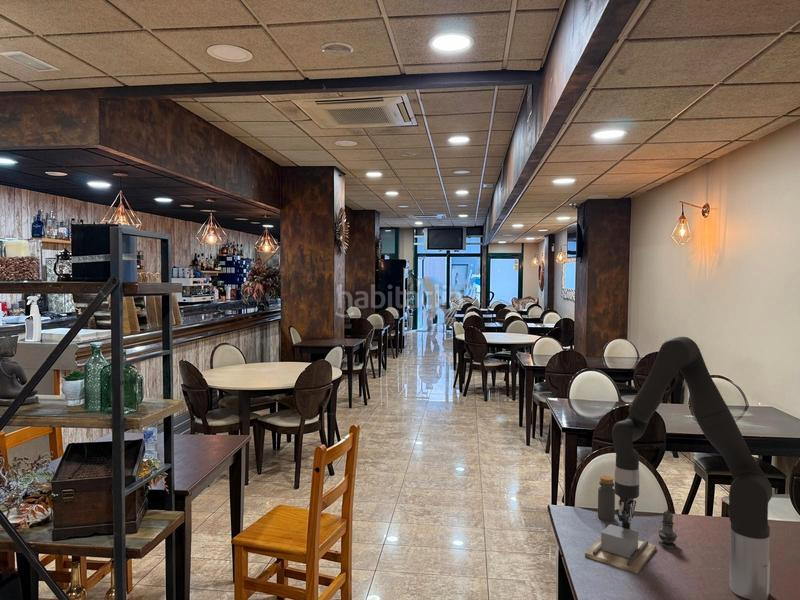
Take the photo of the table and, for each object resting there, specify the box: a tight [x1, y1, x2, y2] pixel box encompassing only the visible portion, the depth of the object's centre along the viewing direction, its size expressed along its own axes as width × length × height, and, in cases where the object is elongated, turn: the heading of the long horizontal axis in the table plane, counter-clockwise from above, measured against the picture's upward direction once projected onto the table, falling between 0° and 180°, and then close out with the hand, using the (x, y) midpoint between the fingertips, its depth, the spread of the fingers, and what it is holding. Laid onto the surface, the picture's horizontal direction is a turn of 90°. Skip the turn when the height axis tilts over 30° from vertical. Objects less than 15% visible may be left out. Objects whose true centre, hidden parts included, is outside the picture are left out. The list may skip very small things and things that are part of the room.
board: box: [584, 536, 657, 574], centre depth 177 cm, size 16×20×2 cm
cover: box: [600, 524, 639, 559], centre depth 176 cm, size 9×8×6 cm
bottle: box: [597, 475, 616, 522], centre depth 203 cm, size 6×6×15 cm
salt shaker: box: [657, 508, 678, 549], centre depth 183 cm, size 6×6×12 cm
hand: (626, 532), depth 180 cm, fingers closed
